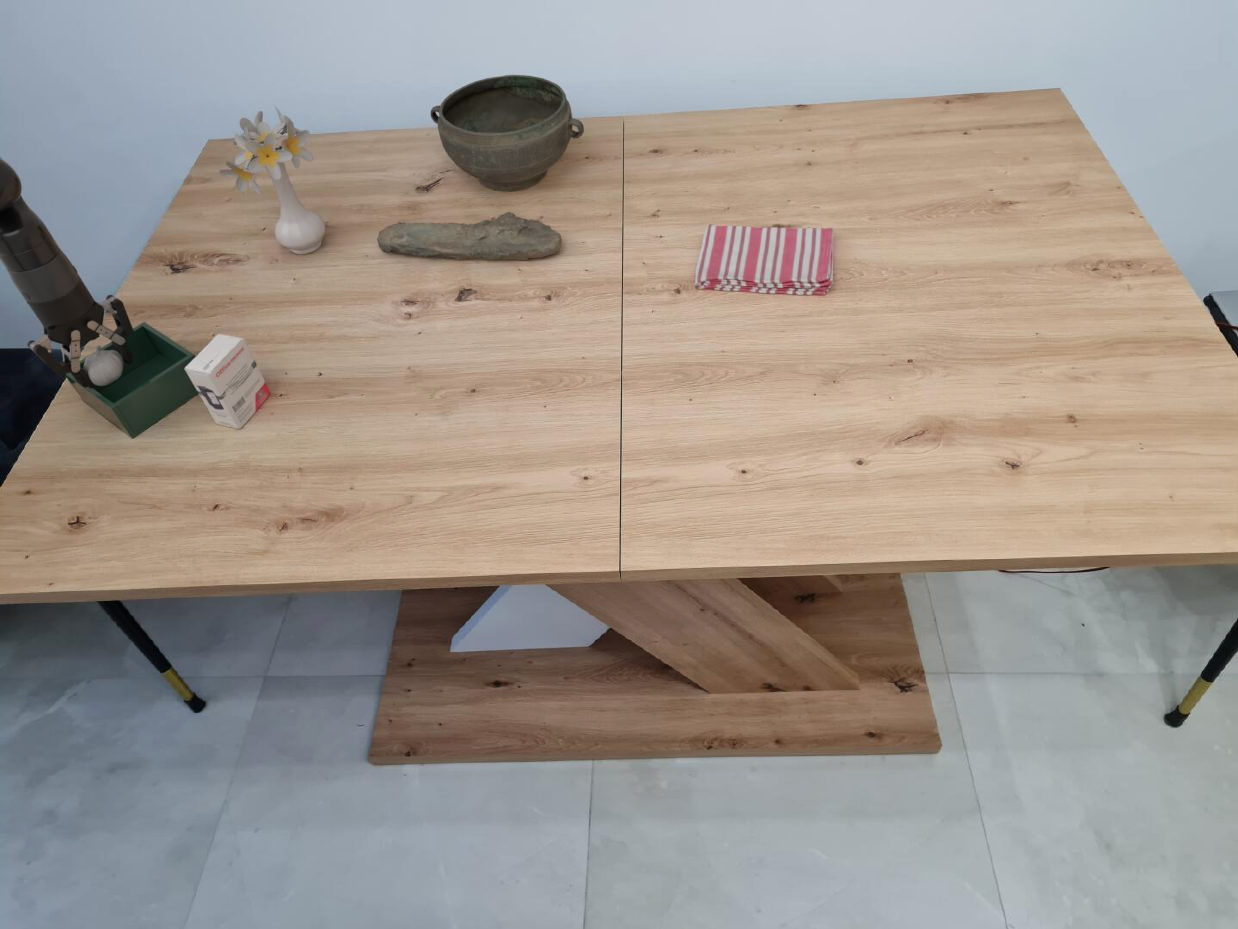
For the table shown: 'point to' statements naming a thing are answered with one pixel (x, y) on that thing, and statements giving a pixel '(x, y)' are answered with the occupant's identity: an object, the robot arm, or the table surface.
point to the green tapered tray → (142, 383)
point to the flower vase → (278, 178)
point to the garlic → (103, 366)
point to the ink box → (228, 380)
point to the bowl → (506, 129)
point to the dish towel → (766, 260)
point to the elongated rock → (473, 239)
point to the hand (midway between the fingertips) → (108, 373)
